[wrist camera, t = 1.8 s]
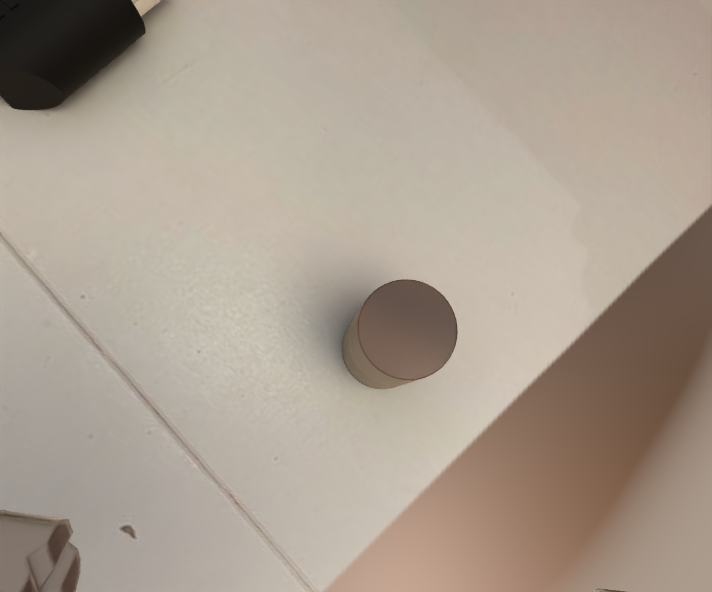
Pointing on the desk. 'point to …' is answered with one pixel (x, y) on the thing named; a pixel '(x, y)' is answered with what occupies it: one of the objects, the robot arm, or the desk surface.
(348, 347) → the brown cylinder
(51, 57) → the audio adapter
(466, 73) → the desk surface
